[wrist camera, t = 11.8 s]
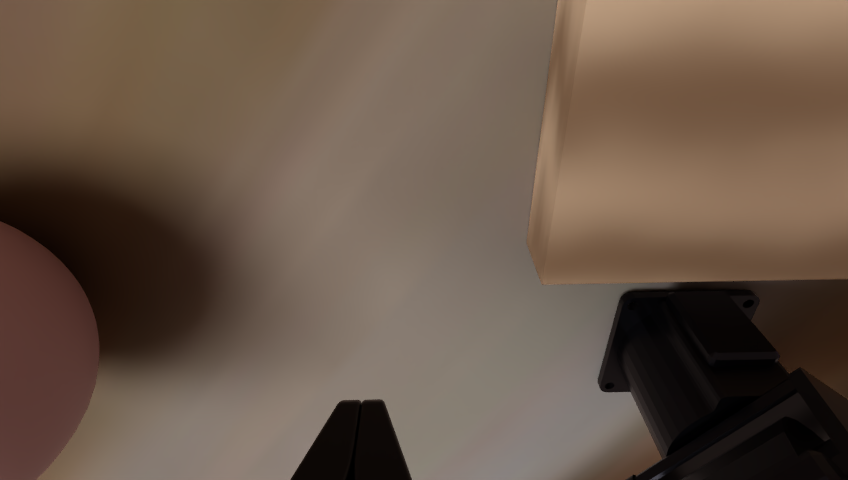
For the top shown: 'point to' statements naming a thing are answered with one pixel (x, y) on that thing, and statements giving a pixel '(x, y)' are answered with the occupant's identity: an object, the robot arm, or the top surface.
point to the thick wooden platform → (693, 143)
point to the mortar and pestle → (41, 355)
